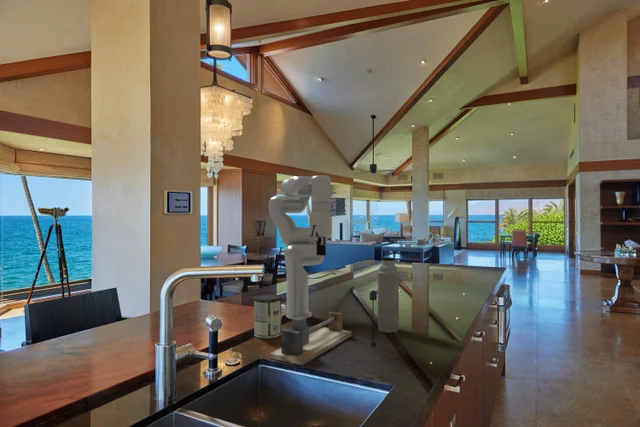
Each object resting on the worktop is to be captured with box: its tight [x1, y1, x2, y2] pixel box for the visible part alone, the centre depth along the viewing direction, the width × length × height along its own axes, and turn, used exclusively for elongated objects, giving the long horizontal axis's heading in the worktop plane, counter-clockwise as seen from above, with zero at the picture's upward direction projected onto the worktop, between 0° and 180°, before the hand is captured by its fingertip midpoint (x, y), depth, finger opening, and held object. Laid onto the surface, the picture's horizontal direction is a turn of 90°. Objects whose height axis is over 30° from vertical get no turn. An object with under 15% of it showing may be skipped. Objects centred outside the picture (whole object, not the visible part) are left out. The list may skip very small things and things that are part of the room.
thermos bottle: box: [377, 256, 400, 334], centre depth 156 cm, size 8×8×28 cm
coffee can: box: [253, 293, 283, 339], centre depth 150 cm, size 10×10×14 cm
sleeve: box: [288, 316, 310, 346], centre depth 128 cm, size 5×4×8 cm
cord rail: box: [269, 311, 353, 366], centre depth 136 cm, size 12×34×8 cm, turn 150°
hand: (321, 255), depth 154 cm, fingers closed
